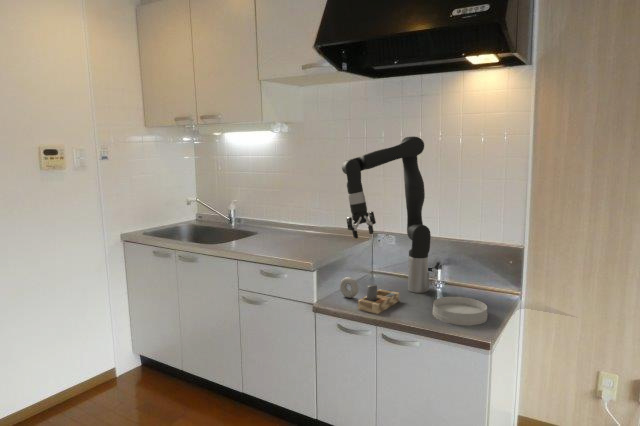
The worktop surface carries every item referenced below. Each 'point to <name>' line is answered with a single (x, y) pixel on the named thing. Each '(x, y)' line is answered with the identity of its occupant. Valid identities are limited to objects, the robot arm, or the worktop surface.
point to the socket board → (379, 301)
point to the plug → (372, 292)
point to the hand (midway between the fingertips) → (364, 236)
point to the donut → (353, 287)
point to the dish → (460, 310)
